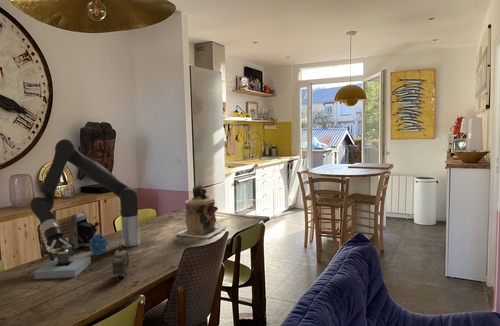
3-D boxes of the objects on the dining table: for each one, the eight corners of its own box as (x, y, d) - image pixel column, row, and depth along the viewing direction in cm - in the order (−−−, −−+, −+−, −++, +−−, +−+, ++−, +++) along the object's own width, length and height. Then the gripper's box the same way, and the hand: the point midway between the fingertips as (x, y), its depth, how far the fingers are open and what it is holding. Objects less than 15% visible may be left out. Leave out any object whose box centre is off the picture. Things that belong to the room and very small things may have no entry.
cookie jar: (174, 236, 227) (171, 185, 224) (194, 226, 250) (192, 180, 247) (210, 239, 218) (207, 186, 215) (227, 228, 240) (225, 180, 238)
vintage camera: (95, 250, 205) (94, 215, 204) (71, 249, 208) (70, 214, 207) (105, 245, 215) (105, 212, 213) (82, 244, 218) (81, 211, 216)
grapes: (113, 253, 198) (112, 231, 197) (105, 257, 191) (103, 234, 190) (96, 251, 201) (94, 230, 200) (87, 256, 195) (85, 233, 194)
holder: (90, 263, 183) (90, 256, 183) (75, 277, 165) (74, 269, 165) (54, 264, 183) (53, 258, 182) (34, 279, 165) (34, 271, 165)
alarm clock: (119, 272, 169) (117, 238, 167) (131, 272, 169) (129, 237, 168) (112, 282, 158) (110, 245, 156) (125, 281, 158) (123, 244, 157)
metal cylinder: (71, 268, 177) (70, 248, 176) (67, 272, 172) (65, 251, 171) (61, 269, 177) (59, 248, 176) (56, 272, 172) (54, 252, 171)
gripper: (37, 229, 174) (48, 257, 167) (68, 223, 184) (80, 249, 177) (34, 238, 178) (45, 266, 171) (65, 231, 188) (76, 258, 181)
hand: (62, 257), depth 174 cm, fingers open, 8 cm apart
